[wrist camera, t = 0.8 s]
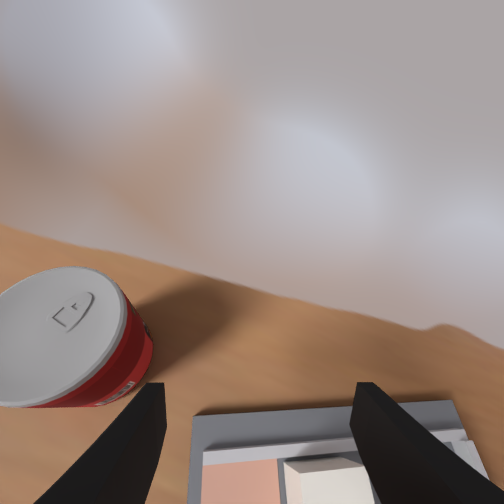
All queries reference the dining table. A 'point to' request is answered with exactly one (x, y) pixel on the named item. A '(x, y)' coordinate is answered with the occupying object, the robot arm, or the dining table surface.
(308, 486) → the white block
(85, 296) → the canned food
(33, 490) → the dining table surface
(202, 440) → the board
